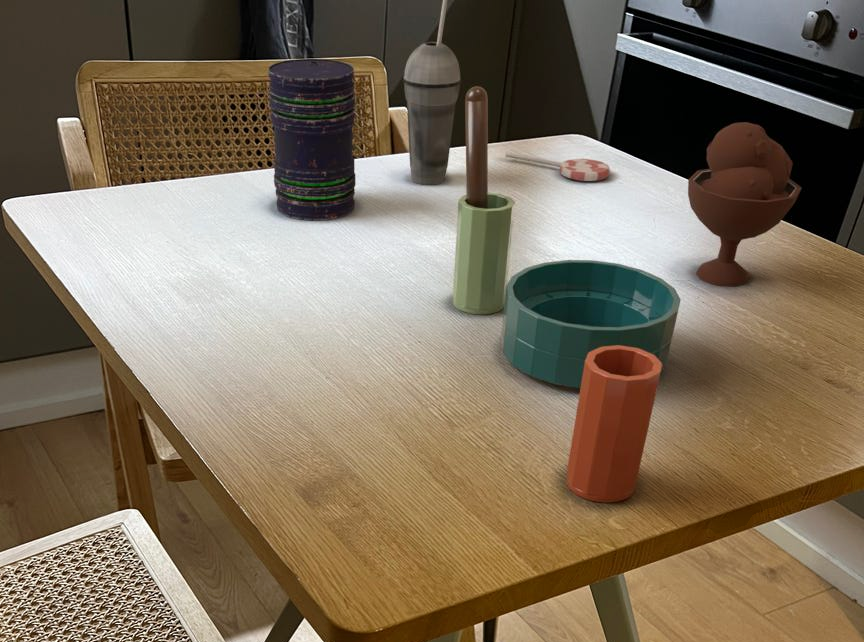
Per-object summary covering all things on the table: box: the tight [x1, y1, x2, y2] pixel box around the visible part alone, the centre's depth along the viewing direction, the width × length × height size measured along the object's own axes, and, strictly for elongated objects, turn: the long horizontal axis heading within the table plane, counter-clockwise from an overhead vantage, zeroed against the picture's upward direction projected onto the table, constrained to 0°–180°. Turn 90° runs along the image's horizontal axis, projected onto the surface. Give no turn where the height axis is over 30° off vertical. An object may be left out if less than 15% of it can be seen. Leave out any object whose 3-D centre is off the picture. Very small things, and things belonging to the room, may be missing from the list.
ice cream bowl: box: [687, 121, 802, 287], centre depth 99 cm, size 11×11×15 cm
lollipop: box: [504, 151, 611, 182], centre depth 130 cm, size 7×1×15 cm
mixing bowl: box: [500, 259, 682, 389], centre depth 88 cm, size 15×15×6 cm
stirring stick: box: [464, 85, 489, 209], centre depth 92 cm, size 2×2×19 cm
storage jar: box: [268, 58, 357, 221], centre depth 114 cm, size 10×10×15 cm
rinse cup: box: [452, 191, 516, 315], centre depth 95 cm, size 5×5×10 cm
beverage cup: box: [402, 0, 462, 186], centre depth 120 cm, size 7×7×20 cm
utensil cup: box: [565, 345, 662, 504], centre depth 71 cm, size 5×5×10 cm
